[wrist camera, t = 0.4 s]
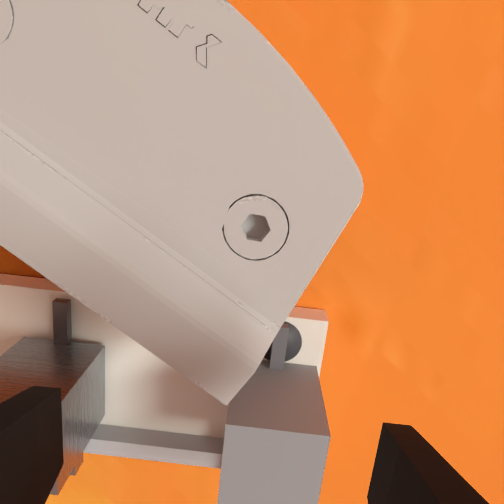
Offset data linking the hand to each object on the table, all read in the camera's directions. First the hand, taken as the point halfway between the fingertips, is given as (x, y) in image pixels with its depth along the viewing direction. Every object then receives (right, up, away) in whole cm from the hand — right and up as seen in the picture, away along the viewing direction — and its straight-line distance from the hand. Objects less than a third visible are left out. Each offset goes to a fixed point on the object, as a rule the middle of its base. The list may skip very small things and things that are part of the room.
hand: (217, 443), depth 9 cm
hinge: (-6, +6, +7) cm, 11 cm away
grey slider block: (-8, -1, +9) cm, 12 cm away
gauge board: (-7, -1, +11) cm, 13 cm away
